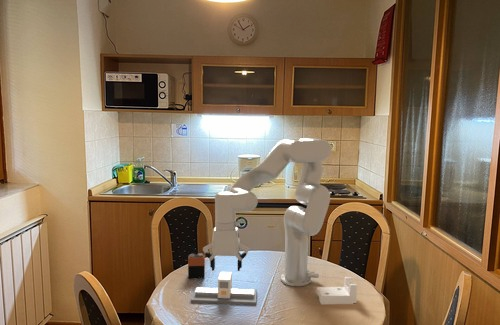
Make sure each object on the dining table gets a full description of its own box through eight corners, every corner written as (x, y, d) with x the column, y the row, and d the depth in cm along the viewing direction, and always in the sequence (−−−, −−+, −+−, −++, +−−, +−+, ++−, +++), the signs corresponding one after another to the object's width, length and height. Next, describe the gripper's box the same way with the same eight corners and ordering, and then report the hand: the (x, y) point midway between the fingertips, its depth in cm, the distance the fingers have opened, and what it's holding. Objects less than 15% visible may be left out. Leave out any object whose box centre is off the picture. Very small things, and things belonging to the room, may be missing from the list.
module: (231, 289, 145) (232, 271, 144) (229, 299, 137) (229, 280, 136) (220, 289, 145) (220, 271, 144) (217, 298, 138) (217, 280, 137)
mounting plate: (256, 292, 146) (256, 289, 146) (255, 304, 136) (255, 302, 136) (195, 289, 147) (195, 287, 147) (190, 302, 137) (190, 299, 137)
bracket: (350, 295, 145) (351, 276, 144) (356, 304, 138) (357, 285, 137) (316, 295, 145) (317, 277, 144) (321, 305, 138) (322, 285, 137)
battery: (204, 278, 157) (204, 255, 156) (188, 279, 157) (188, 256, 155) (204, 274, 162) (204, 252, 160) (188, 274, 161) (188, 252, 160)
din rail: (253, 293, 143) (253, 289, 143) (253, 297, 139) (253, 294, 139) (196, 291, 144) (196, 287, 144) (195, 295, 140) (195, 291, 140)
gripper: (249, 222, 142) (249, 265, 144) (204, 222, 142) (205, 264, 145) (248, 228, 134) (248, 274, 136) (200, 228, 135) (201, 273, 137)
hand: (226, 269), depth 141 cm, fingers open, 9 cm apart
